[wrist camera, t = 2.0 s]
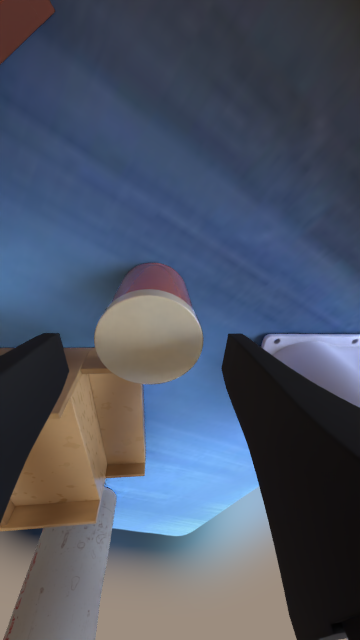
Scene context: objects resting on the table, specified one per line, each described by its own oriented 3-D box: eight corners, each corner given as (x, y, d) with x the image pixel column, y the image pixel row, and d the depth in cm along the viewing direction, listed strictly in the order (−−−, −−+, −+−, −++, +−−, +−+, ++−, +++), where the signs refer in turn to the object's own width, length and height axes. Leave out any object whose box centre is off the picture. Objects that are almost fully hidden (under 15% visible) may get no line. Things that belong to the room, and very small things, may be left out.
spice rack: (141, 347, 17) (133, 410, 12) (146, 451, 24) (141, 519, 19) (-19, 347, 16) (-108, 418, 10) (36, 457, 23) (-1, 531, 18)
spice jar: (191, 262, 14) (210, 296, 9) (186, 326, 16) (198, 383, 11) (114, 259, 13) (85, 294, 8) (120, 326, 16) (101, 385, 11)
